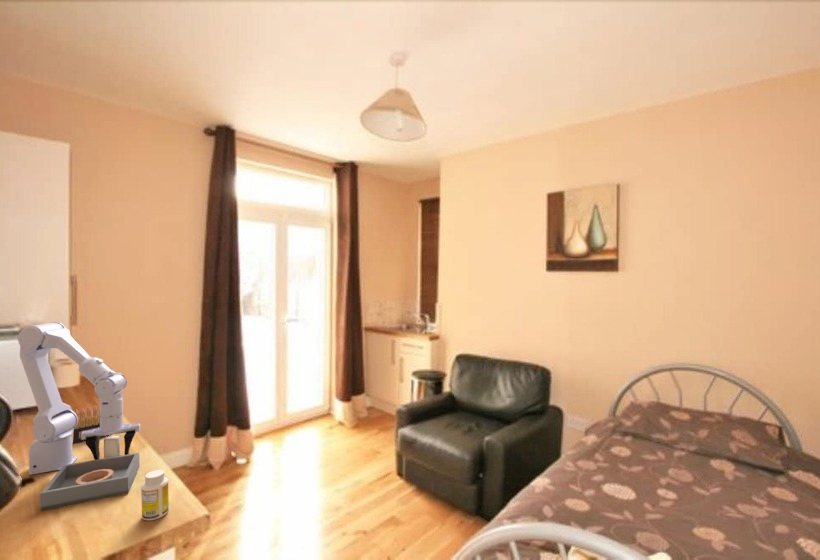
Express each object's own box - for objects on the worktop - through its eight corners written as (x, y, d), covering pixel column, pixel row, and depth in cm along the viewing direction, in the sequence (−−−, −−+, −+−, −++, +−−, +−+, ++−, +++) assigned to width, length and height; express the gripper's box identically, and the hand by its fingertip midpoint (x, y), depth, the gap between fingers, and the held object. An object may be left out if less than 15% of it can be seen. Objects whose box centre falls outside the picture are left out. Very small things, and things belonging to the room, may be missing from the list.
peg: (102, 468, 119) (102, 442, 119) (105, 462, 122) (105, 437, 122) (118, 465, 120) (118, 439, 120) (121, 460, 124) (121, 435, 124)
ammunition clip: (73, 444, 136) (72, 409, 136) (72, 442, 137) (72, 408, 137) (111, 435, 143) (111, 403, 143) (111, 434, 144) (110, 401, 144)
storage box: (40, 511, 97) (40, 493, 97) (63, 480, 112) (63, 465, 112) (128, 493, 105) (128, 477, 105) (139, 467, 119) (139, 452, 119)
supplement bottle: (164, 505, 100) (163, 465, 100) (172, 513, 96) (171, 472, 96) (138, 515, 96) (138, 474, 95) (145, 525, 92) (145, 482, 92)
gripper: (77, 422, 114) (78, 468, 115) (137, 414, 121) (137, 458, 121) (85, 414, 121) (85, 458, 121) (141, 407, 127) (141, 449, 127)
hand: (112, 457), depth 121 cm, fingers open, 7 cm apart
